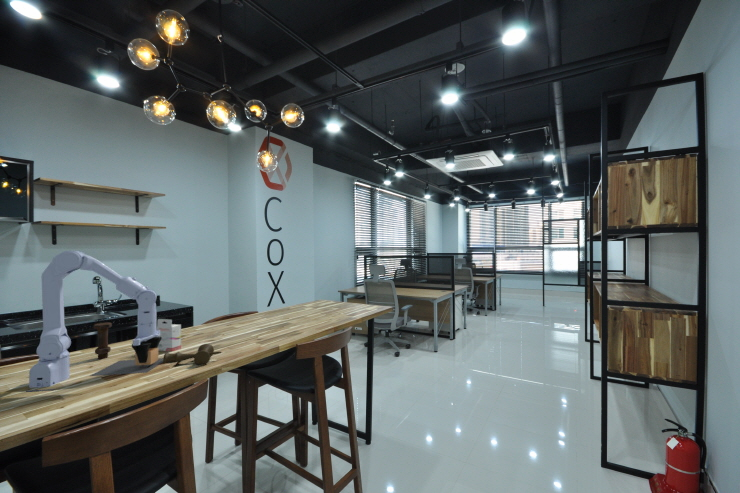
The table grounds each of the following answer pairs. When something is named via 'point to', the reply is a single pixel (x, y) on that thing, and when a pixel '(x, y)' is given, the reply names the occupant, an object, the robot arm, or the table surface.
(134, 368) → the board
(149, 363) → the tan cube block
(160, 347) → the ink cartridge box
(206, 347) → the kendama
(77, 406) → the table surface
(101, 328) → the bolt
